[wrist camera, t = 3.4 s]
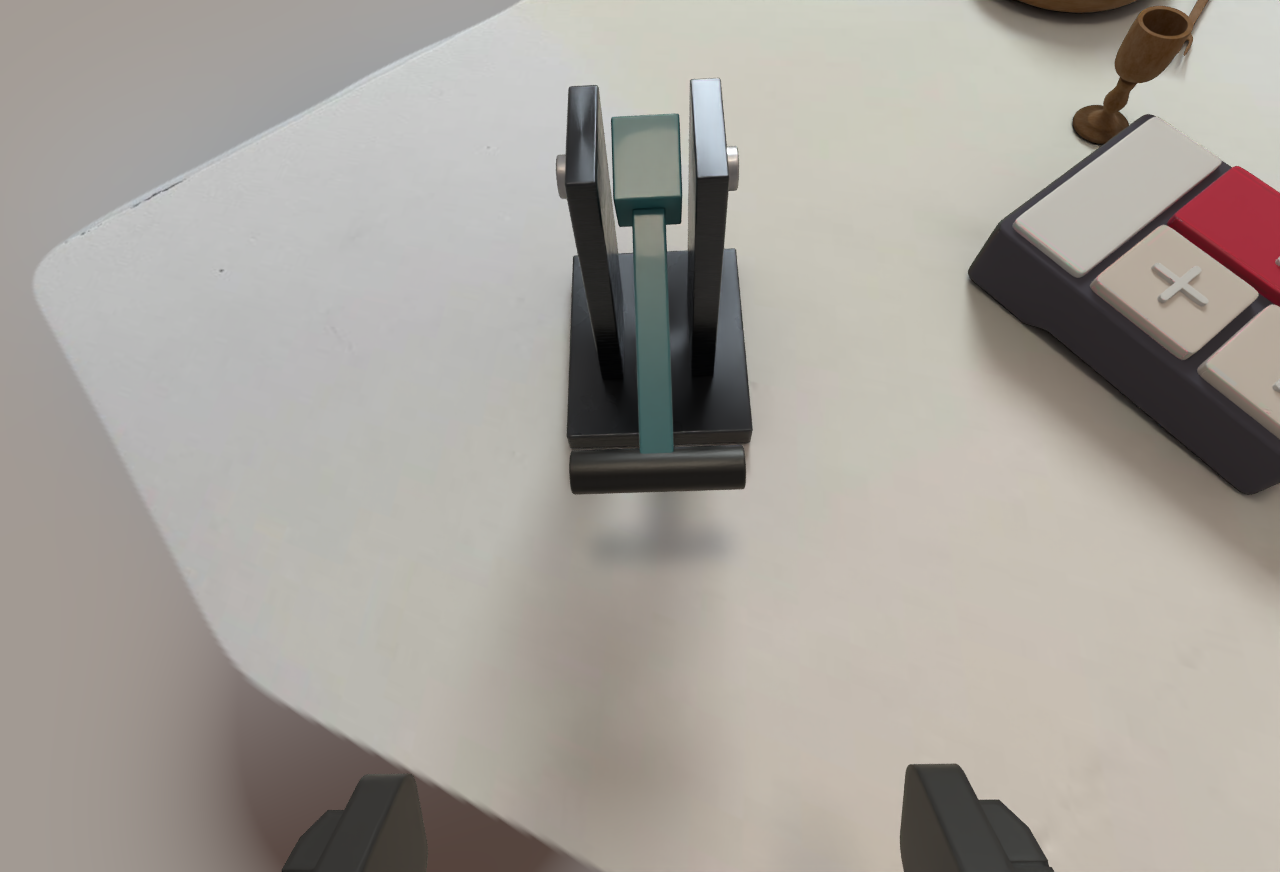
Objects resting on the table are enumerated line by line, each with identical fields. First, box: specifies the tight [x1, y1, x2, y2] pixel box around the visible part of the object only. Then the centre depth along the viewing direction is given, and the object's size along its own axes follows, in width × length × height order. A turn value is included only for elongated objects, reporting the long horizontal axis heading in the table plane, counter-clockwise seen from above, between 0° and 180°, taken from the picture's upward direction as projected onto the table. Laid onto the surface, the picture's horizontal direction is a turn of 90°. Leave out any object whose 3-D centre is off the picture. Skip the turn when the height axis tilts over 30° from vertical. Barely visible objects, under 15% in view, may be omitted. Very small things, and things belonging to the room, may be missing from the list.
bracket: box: [556, 78, 753, 448], centre depth 28 cm, size 10×8×13 cm
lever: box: [569, 114, 746, 494], centre depth 24 cm, size 12×6×2 cm, turn 2°
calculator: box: [968, 114, 1280, 494], centre depth 32 cm, size 11×4×15 cm
